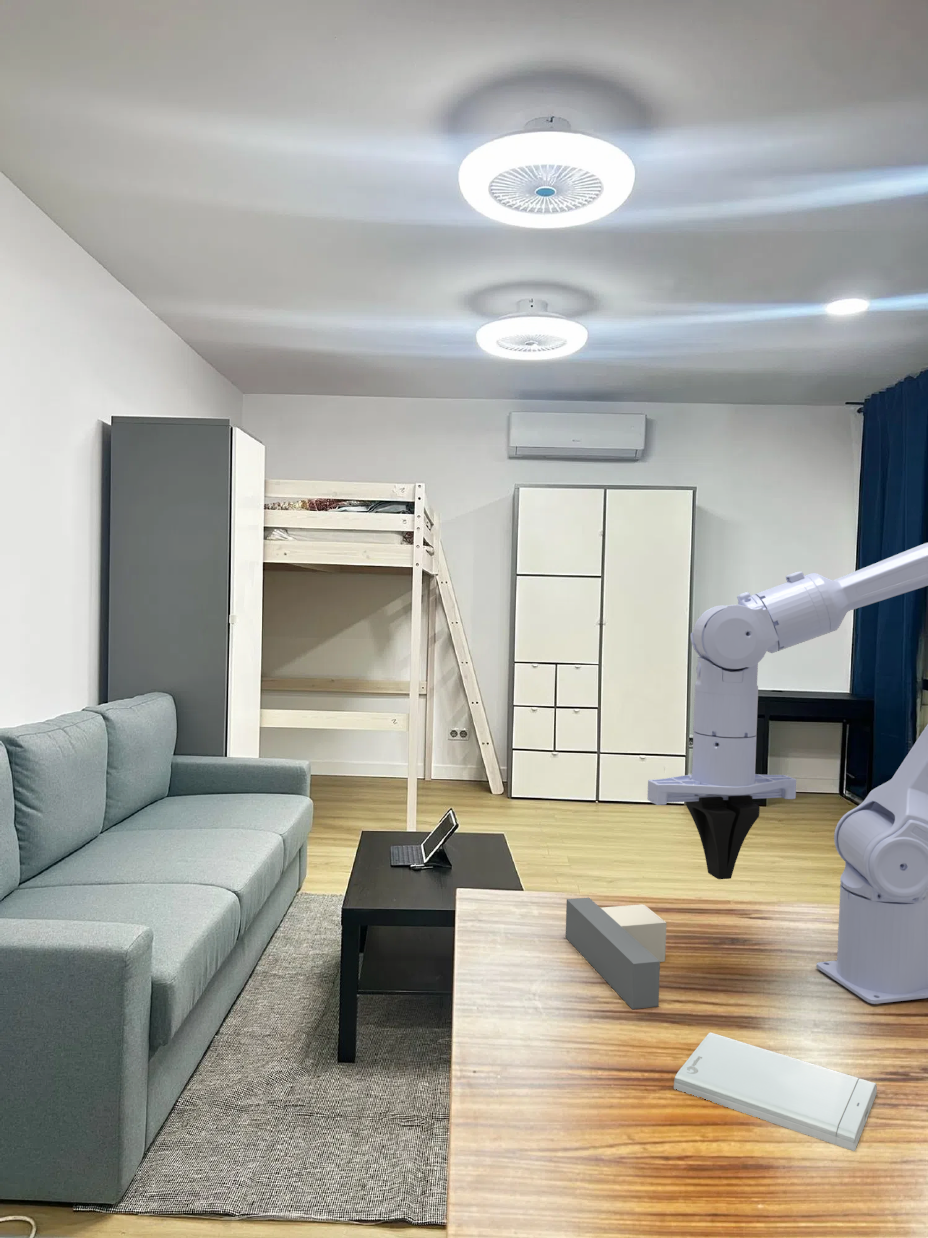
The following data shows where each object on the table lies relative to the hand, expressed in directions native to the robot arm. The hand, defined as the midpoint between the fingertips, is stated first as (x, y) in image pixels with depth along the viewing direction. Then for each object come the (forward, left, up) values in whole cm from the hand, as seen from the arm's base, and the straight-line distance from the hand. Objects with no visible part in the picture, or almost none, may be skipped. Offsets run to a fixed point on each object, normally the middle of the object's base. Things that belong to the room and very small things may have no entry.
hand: (719, 875), depth 86 cm
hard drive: (+6, +19, -10) cm, 22 cm away
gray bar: (+10, -3, -9) cm, 14 cm away
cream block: (+6, -6, -10) cm, 13 cm away
